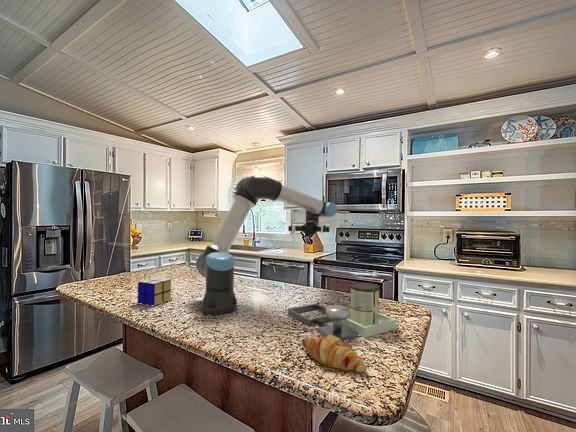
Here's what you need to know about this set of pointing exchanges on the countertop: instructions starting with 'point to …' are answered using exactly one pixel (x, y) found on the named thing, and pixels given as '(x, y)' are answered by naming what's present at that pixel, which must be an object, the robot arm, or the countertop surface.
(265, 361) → the countertop surface
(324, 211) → the robot arm
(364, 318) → the coffee can
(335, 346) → the croissant
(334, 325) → the door knob
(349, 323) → the tray
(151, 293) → the puzzle cube
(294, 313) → the socket
